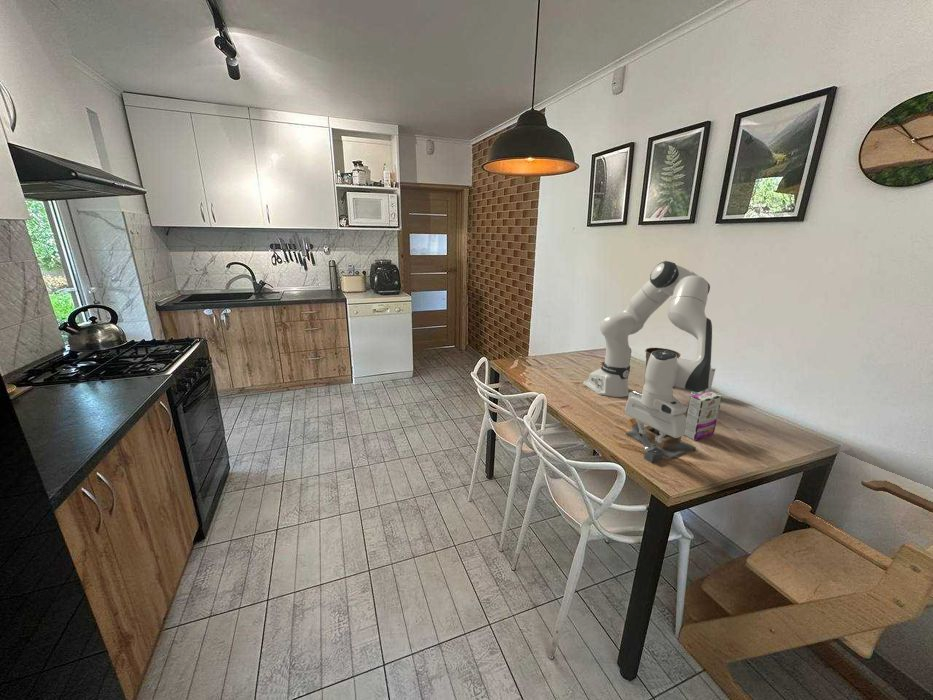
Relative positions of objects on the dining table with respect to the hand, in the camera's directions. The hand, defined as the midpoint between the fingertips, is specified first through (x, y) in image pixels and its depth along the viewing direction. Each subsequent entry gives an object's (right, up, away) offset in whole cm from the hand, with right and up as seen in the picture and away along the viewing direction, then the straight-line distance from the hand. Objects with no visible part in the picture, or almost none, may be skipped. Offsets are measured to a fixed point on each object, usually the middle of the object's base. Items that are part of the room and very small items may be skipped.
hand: (649, 437), depth 123 cm
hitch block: (+9, -4, +11) cm, 15 cm away
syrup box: (+50, +8, +52) cm, 73 cm away
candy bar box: (+26, -3, +16) cm, 31 cm away
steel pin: (+9, -3, +11) cm, 14 cm away
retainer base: (+1, -7, +1) cm, 7 cm away
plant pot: (+39, +13, +69) cm, 80 cm away
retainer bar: (0, -3, +1) cm, 3 cm away
